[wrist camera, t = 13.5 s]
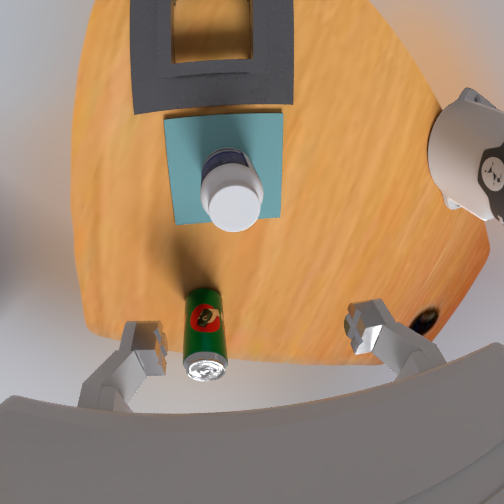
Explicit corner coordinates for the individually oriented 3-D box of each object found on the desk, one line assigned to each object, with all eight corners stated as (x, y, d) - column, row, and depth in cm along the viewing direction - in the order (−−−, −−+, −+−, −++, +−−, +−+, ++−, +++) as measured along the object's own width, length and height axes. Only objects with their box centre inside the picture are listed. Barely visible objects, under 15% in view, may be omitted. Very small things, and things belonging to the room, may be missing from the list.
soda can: (178, 295, 39) (173, 367, 29) (209, 279, 38) (212, 352, 28) (198, 317, 42) (200, 387, 32) (228, 303, 41) (237, 374, 31)
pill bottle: (191, 173, 30) (184, 213, 22) (225, 136, 28) (232, 160, 20) (228, 203, 32) (236, 252, 24) (263, 169, 30) (284, 206, 22)
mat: (282, 113, 28) (283, 113, 27) (279, 215, 34) (280, 217, 34) (164, 119, 26) (164, 119, 26) (176, 223, 33) (175, 225, 33)
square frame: (290, -29, 18) (301, -42, 15) (291, 104, 27) (302, 107, 24) (133, -22, 17) (123, -34, 13) (135, 114, 26) (125, 119, 22)
